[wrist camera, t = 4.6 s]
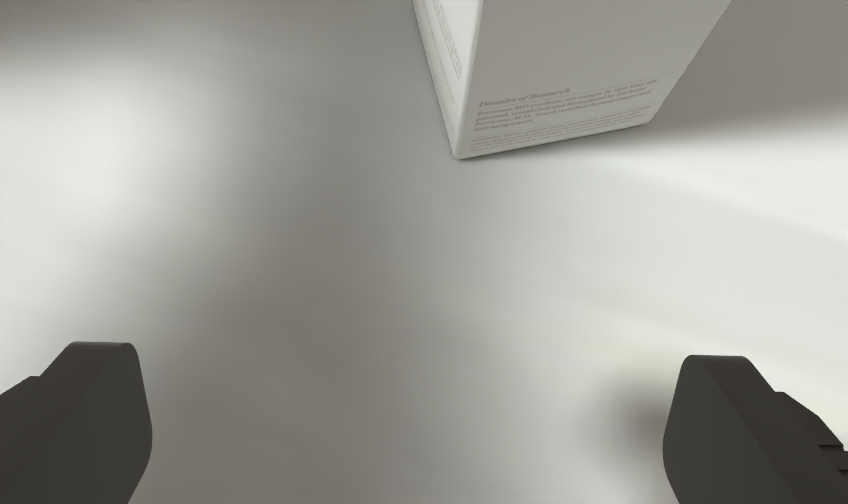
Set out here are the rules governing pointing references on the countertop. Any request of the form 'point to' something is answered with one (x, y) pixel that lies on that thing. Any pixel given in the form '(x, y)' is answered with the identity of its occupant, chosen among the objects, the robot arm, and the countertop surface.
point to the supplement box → (555, 65)
